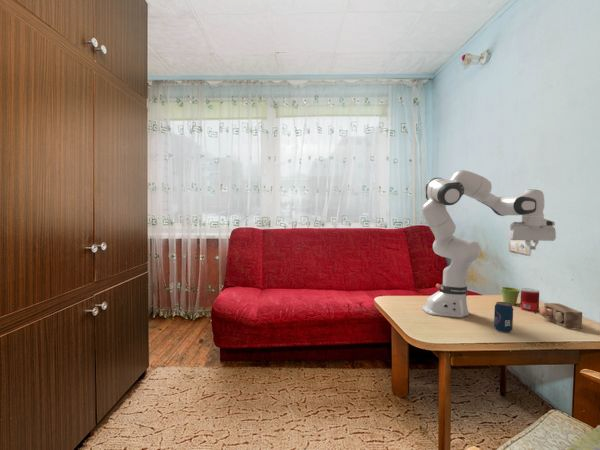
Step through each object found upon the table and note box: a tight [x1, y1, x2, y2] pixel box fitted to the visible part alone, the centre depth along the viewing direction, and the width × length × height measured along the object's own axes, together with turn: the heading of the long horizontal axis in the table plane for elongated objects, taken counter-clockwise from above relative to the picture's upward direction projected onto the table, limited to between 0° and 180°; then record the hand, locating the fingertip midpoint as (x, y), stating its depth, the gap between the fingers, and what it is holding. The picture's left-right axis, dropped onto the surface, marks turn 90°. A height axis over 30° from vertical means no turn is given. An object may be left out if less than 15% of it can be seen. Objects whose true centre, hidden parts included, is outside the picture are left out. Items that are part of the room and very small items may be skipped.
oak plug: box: [555, 312, 564, 322], centre depth 144 cm, size 8×4×4 cm, turn 85°
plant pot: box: [500, 286, 521, 306], centre depth 179 cm, size 9×9×9 cm
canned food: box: [519, 287, 540, 313], centre depth 168 cm, size 8×8×11 cm
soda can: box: [493, 301, 514, 333], centre depth 138 cm, size 7×7×12 cm
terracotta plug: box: [539, 306, 553, 318], centre depth 151 cm, size 8×4×4 cm, turn 85°
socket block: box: [543, 302, 583, 330], centre depth 148 cm, size 7×14×8 cm, turn 175°
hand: (531, 249), depth 156 cm, fingers closed
